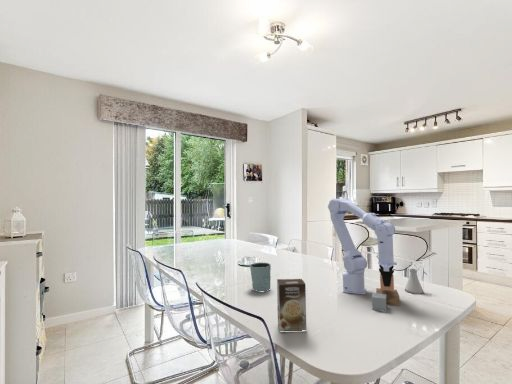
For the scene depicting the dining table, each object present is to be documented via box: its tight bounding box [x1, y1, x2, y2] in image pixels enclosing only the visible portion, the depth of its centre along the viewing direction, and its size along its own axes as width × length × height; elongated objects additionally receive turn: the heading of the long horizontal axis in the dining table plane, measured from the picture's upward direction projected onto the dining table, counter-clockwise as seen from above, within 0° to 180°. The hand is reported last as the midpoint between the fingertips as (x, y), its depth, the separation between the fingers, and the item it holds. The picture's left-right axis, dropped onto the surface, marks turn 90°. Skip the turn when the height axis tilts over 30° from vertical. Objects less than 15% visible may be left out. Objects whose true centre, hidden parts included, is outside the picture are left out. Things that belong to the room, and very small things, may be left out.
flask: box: [404, 268, 425, 295], centre depth 127 cm, size 7×7×10 cm
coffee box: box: [276, 278, 307, 332], centre depth 96 cm, size 9×6×16 cm
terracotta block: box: [379, 273, 395, 290], centre depth 117 cm, size 5×5×5 cm
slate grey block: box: [371, 292, 387, 312], centre depth 110 cm, size 5×5×5 cm
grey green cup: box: [249, 262, 272, 292], centre depth 137 cm, size 10×10×12 cm
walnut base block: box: [375, 287, 401, 307], centre depth 117 cm, size 8×8×4 cm
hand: (386, 284), depth 117 cm, fingers closed on terracotta block, 5 cm apart
